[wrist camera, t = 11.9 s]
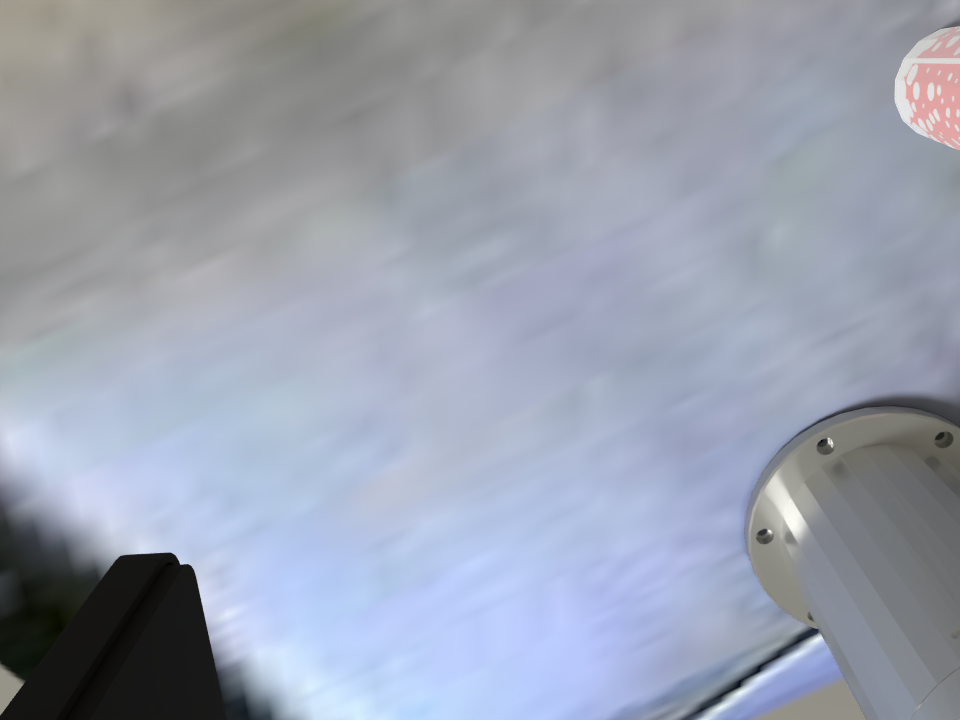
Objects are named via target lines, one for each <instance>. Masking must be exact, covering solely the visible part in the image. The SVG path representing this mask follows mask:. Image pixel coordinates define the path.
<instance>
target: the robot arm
mask: <svg viewBox="0 0 960 720" xmlns="http://www.w3.org/2000/svg"><path fill="white" fill-rule="evenodd" d="M822 439H824V441H823V442H821V443H818V442H819V441H821V440H822ZM760 530H762V531H760ZM744 536H745V543H746V550H747V555H748V557H749V560H750V562H751V565H752V568H753V570H754V573H755V574H756V576H757V578H758V580H759V582H760V584H761V586H762V588H763V590H764V591H765V592H766V593H767V594H768V595H769V597H770V598H771V599H772V600H773V601H774V602H775V604H776V605H777V606H779V607H780V608H781V609H783V610H784V611H785V612H786V613H788V614H789V615H790V616H792V617H793V618H795V619H797V620H798V621H800V622H802V623H804V624H806V625H808V626H811V627H813V628H817V629H819V631H820V633H821V635H822V637H823V639H824V641H825V643H826V644H827V646H828V648H829V650H830V652H831V654H832V656H833V658H834V660H835V662H836V664H837V666H838V667H839V669H840V671H841V673H842V675H843V677H844V679H845V681H846V683H847V685H848V687H849V689H850V690H851V692H852V694H853V696H854V698H855V700H856V702H857V704H858V706H859V707H860V710H861V712H862V713H863V715H864V717H865V719H866V720H960V427H959V426H957V425H955V424H954V423H952V422H950V421H948V420H946V419H945V418H943V417H941V416H938V415H935V414H932V413H929V412H926V411H922V410H919V409H914V408H905V407H896V406H884V407H868V408H863V409H859V410H854V411H850V412H846V413H841V414H839V415H837V416H834V417H832V418H829V419H827V420H824V421H822V422H820V423H817V424H816V425H814V426H813V427H811V428H809V429H808V430H806V431H804V432H803V433H801V434H800V435H798V436H796V437H795V438H794V439H793V440H792V441H791V442H789V443H788V444H787V445H786V446H785V447H784V448H783V449H782V450H780V451H779V452H778V453H777V454H776V456H775V457H774V458H773V459H772V461H771V462H770V463H769V464H768V466H767V467H766V468H765V469H764V471H763V472H762V474H761V476H760V478H759V479H758V481H757V483H756V485H755V487H754V489H753V491H752V493H751V497H750V500H749V503H748V507H747V510H746V516H745V528H744ZM0 720H227V719H226V714H225V710H224V705H223V700H222V696H221V691H220V686H219V682H218V677H217V672H216V668H215V663H214V658H213V654H212V649H211V644H210V640H209V635H208V630H207V626H206V621H205V617H204V612H203V607H202V603H201V598H200V593H199V589H198V584H197V579H196V575H195V572H194V570H193V568H192V566H190V565H188V564H184V565H180V563H179V560H178V559H177V557H176V556H175V555H174V554H172V553H153V554H134V555H123V556H120V557H119V558H118V559H117V560H116V561H115V562H114V563H113V565H112V566H111V567H110V569H109V570H108V571H107V573H106V574H105V575H104V577H103V578H102V580H101V581H100V582H99V584H98V585H97V586H96V588H95V589H94V590H93V592H92V593H91V594H90V596H89V597H88V598H87V600H86V601H85V602H84V604H83V605H82V606H81V608H80V609H79V610H78V612H77V613H76V615H75V616H74V617H73V619H72V620H71V621H70V623H69V624H68V625H67V627H66V628H65V629H64V631H63V632H62V633H61V635H60V636H59V637H58V639H57V640H56V641H55V643H54V644H53V645H52V647H51V648H50V649H49V651H48V652H47V654H46V655H45V656H44V658H43V659H42V660H41V662H40V663H39V664H38V666H37V667H36V668H35V670H34V671H33V672H32V674H31V675H30V676H29V678H28V679H27V680H26V682H25V683H24V684H23V686H22V687H21V689H20V690H19V691H18V693H17V694H16V695H15V697H14V698H13V699H12V701H11V702H10V703H9V705H8V706H7V707H6V709H5V710H4V712H3V713H2V714H1V715H0Z"/></svg>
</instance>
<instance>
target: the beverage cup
mask: <svg viewBox="0 0 960 720" xmlns="http://www.w3.org/2000/svg"><path fill="white" fill-rule="evenodd" d="M895 103H896V106H897V108H898V110H899V113H900V115H901V118H902V120H903V121H904V122H905V123H906V124H908V125H909V126H910V127H911V128H912V129H913V130H914V131H915V132H916V133H918V134H921V135H923V136H926V137H928V138H930V139H933V140H935V141H938V142H940V143H943V144H945V145H947V146H950V147H952V148H955V149H957V150H960V26H959V27H952V28H945V29H940V30H938V31H936V32H934V33H933V34H931V35H929V36H927V37H925V38H924V39H922V40H920V41H919V42H918V43H917V44H916V45H915V47H914V48H913V49H912V50H911V51H910V52H909V53H908V54H907V56H906V57H905V58H904V60H903V62H902V64H901V67H900V69H899V72H898V74H897V77H896V79H895Z"/></svg>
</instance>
